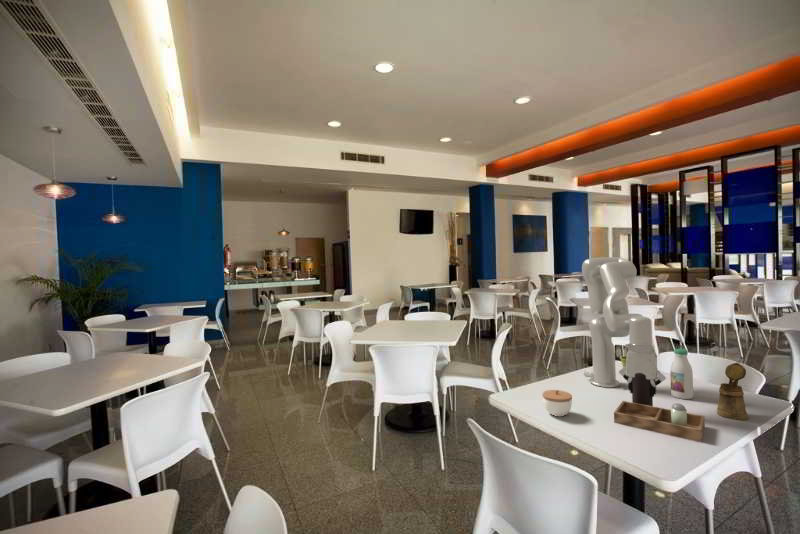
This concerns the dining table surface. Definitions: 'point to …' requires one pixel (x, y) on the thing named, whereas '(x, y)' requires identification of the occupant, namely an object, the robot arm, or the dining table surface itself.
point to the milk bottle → (681, 375)
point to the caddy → (659, 420)
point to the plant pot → (623, 361)
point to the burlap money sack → (732, 394)
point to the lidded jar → (557, 402)
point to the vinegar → (641, 390)
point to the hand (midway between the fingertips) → (642, 393)
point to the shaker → (678, 414)
